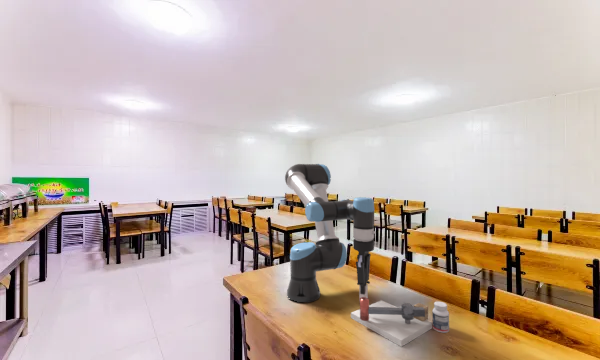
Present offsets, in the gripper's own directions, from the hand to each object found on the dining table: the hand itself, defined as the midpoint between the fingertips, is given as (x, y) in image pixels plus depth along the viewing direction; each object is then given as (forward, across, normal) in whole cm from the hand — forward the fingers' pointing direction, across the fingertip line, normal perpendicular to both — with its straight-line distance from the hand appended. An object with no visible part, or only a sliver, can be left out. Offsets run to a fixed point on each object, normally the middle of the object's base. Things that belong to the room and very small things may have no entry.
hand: (363, 301), depth 102 cm
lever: (+4, -1, -10) cm, 11 cm away
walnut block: (+5, +6, -20) cm, 21 cm away
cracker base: (+7, +2, -9) cm, 12 cm away
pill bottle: (+7, +6, -26) cm, 27 cm away
